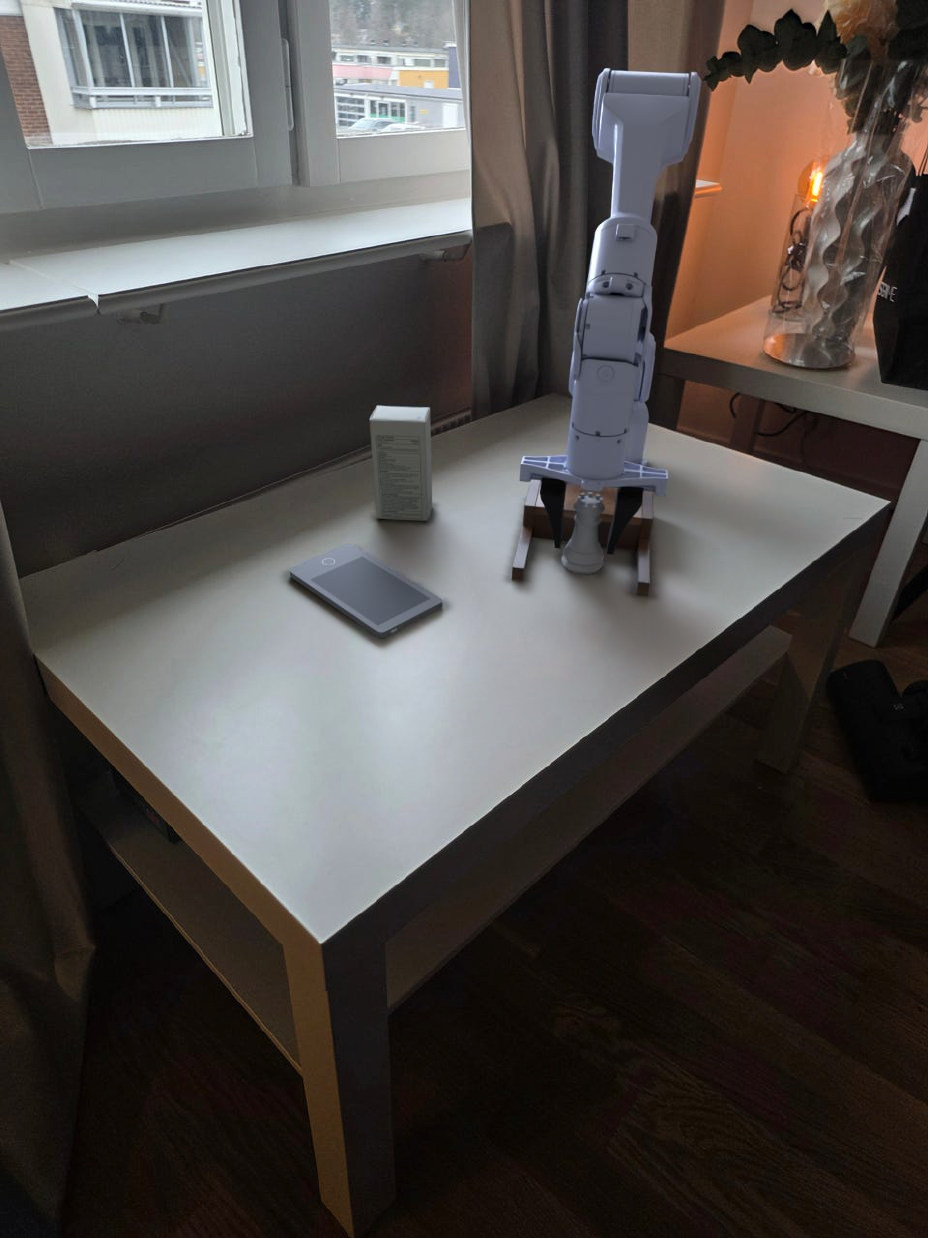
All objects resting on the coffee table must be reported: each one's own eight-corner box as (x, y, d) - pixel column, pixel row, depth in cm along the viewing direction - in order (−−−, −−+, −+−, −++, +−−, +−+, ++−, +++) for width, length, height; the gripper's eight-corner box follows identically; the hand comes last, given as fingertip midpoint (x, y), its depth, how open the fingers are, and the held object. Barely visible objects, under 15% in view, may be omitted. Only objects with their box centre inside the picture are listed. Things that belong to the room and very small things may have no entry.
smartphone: (446, 606, 82) (446, 600, 82) (381, 640, 78) (381, 634, 77) (351, 547, 91) (350, 542, 90) (287, 575, 86) (287, 569, 86)
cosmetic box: (433, 505, 100) (433, 406, 93) (428, 522, 96) (428, 421, 89) (379, 501, 100) (376, 402, 93) (372, 518, 97) (368, 417, 89)
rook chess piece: (575, 579, 87) (584, 511, 83) (552, 559, 90) (559, 492, 86) (611, 570, 89) (621, 502, 84) (587, 550, 92) (595, 484, 87)
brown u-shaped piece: (647, 595, 85) (654, 561, 83) (511, 579, 87) (513, 546, 85) (647, 512, 100) (652, 482, 97) (530, 500, 101) (533, 470, 99)
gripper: (519, 433, 78) (511, 558, 86) (677, 449, 76) (653, 575, 84) (528, 406, 84) (519, 525, 92) (675, 419, 82) (653, 540, 90)
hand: (584, 547), depth 88 cm, fingers open, 5 cm apart
